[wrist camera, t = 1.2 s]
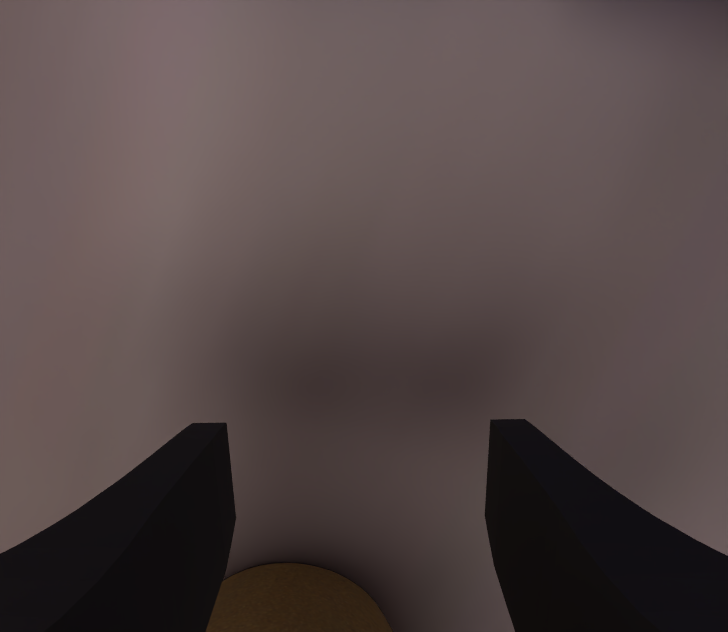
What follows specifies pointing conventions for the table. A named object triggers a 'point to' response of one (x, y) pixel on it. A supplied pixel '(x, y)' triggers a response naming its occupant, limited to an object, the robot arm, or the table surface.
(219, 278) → the table surface
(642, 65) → the table surface
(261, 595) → the plant pot
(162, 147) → the table surface
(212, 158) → the table surface
